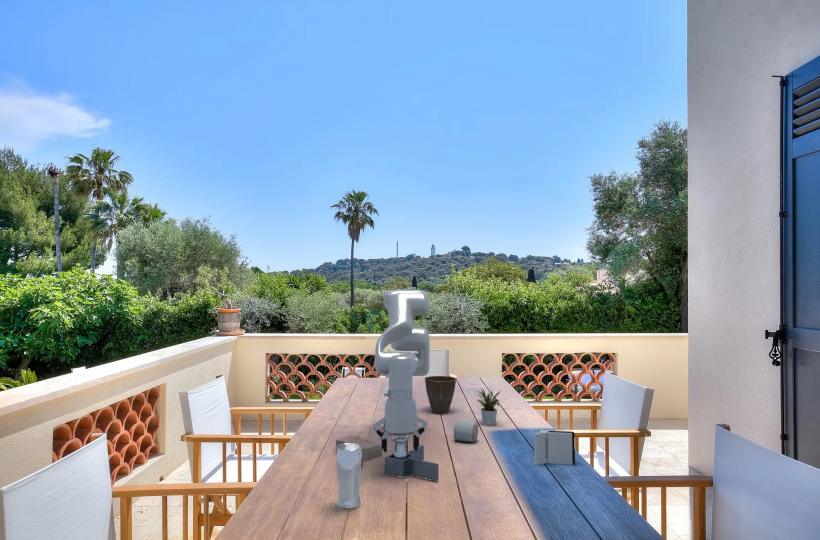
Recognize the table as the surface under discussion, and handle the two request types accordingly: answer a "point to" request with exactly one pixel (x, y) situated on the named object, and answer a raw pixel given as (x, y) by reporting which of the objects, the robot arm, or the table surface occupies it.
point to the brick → (363, 446)
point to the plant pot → (440, 392)
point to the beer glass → (349, 474)
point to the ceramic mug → (465, 431)
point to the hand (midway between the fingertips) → (400, 450)
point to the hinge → (554, 447)
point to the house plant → (488, 407)
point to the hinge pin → (400, 446)
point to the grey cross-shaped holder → (412, 465)
